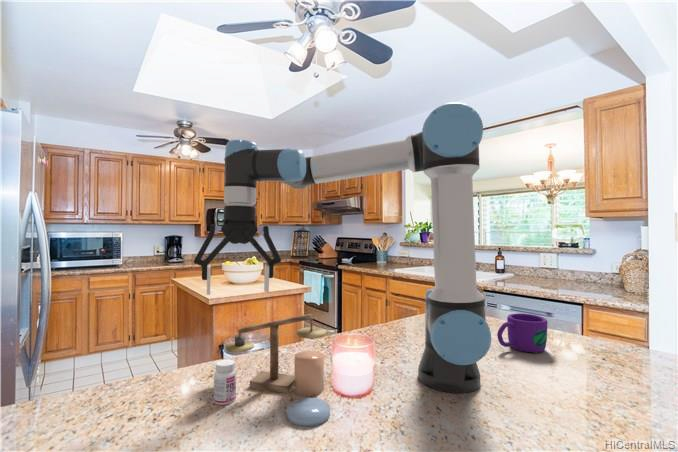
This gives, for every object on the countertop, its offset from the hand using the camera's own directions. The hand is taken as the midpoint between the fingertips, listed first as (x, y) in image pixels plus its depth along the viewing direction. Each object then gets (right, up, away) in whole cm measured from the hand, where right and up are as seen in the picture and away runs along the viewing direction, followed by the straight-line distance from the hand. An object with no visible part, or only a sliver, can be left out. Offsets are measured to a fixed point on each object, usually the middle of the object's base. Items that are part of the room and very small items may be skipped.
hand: (238, 292), depth 86 cm
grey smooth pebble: (+18, -23, -13) cm, 32 cm away
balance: (+9, -23, 0) cm, 24 cm away
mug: (+82, -23, +26) cm, 89 cm away
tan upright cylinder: (+17, -23, -2) cm, 29 cm away
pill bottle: (-1, -23, -7) cm, 24 cm away
